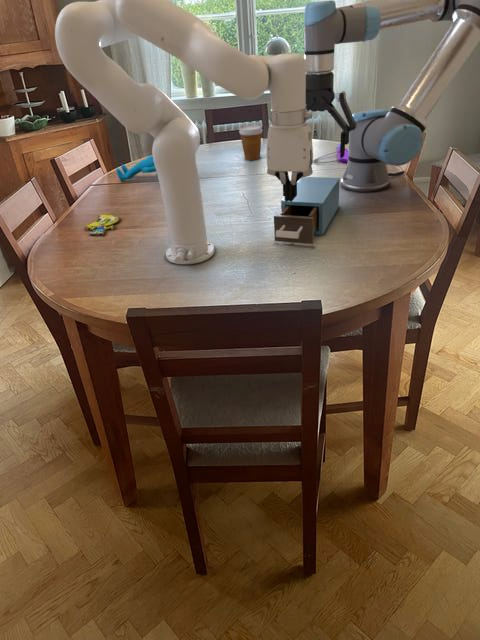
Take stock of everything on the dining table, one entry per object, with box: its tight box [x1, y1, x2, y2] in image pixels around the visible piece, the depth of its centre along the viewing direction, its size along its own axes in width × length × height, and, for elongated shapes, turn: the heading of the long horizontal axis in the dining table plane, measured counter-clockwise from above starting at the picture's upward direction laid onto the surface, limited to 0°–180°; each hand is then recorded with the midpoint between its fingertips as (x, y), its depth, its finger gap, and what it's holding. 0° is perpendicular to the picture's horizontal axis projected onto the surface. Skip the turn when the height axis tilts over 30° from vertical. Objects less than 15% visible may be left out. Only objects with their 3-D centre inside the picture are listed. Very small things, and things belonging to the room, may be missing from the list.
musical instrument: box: [313, 144, 349, 164], centre depth 191 cm, size 24×2×20 cm
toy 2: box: [115, 154, 158, 182], centre depth 182 cm, size 17×11×30 cm
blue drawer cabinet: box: [280, 176, 341, 236], centre depth 136 cm, size 22×11×9 cm, turn 159°
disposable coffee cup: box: [238, 124, 263, 161], centre depth 196 cm, size 10×10×12 cm
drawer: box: [273, 205, 319, 245], centre depth 127 cm, size 26×10×7 cm, turn 159°
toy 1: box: [85, 214, 120, 236], centre depth 147 cm, size 10×1×15 cm
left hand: (290, 199), depth 115 cm, fingers closed
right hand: (318, 156), depth 136 cm, fingers open, 13 cm apart
